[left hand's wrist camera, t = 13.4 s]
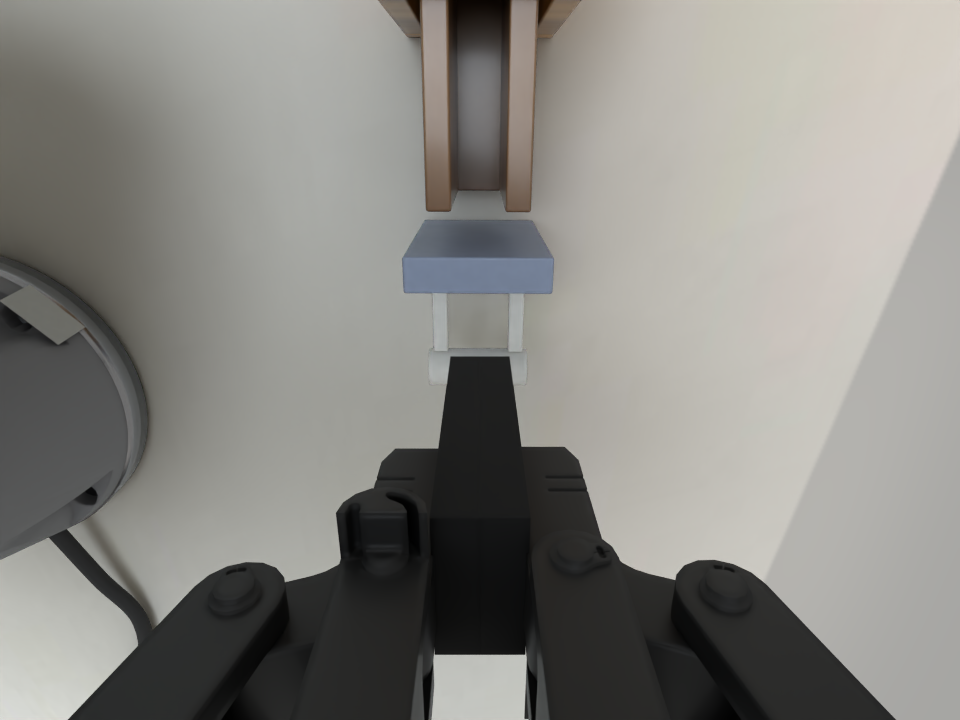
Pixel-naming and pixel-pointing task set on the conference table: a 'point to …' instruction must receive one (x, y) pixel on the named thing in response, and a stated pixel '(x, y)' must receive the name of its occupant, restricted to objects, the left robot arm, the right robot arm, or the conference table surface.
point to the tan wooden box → (551, 15)
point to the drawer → (478, 167)
